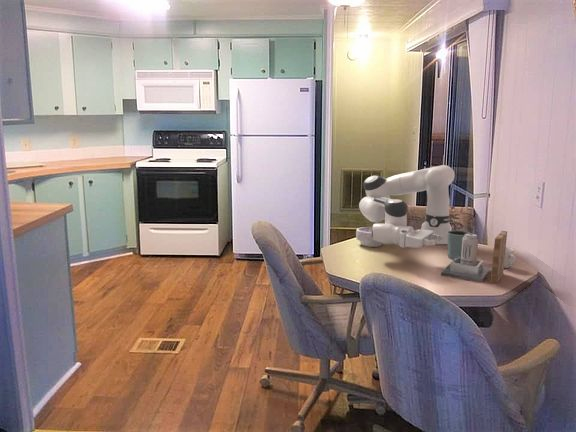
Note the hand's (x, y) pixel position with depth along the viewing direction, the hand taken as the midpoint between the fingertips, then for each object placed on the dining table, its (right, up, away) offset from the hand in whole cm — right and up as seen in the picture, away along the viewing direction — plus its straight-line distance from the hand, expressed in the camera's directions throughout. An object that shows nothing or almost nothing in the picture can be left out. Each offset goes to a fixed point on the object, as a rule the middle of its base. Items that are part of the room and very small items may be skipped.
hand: (438, 240), depth 218 cm
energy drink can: (+11, -12, -5) cm, 17 cm away
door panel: (+21, -15, -10) cm, 27 cm away
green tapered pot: (+14, -9, +19) cm, 25 cm away
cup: (+30, -12, +5) cm, 33 cm away
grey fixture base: (+10, -13, -4) cm, 17 cm away
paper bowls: (-22, -4, +40) cm, 46 cm away
